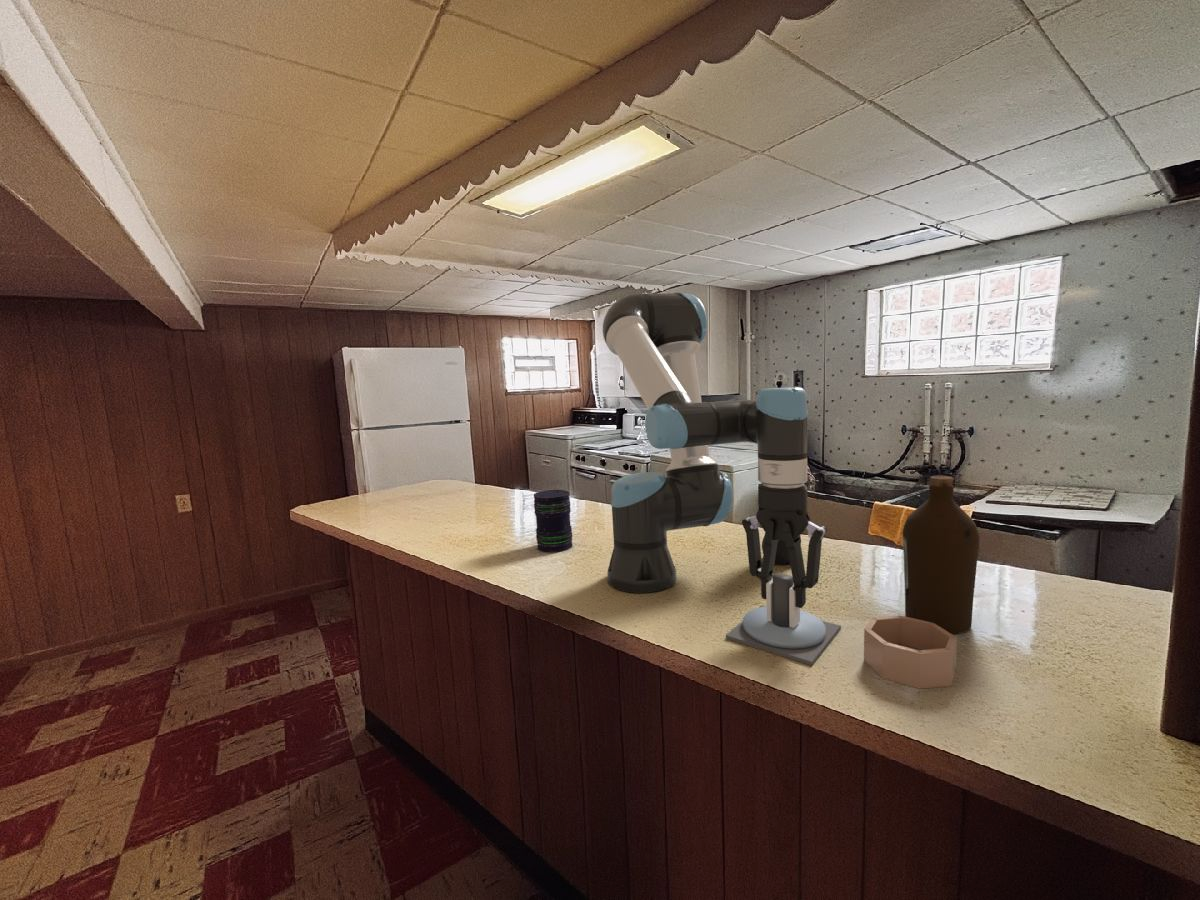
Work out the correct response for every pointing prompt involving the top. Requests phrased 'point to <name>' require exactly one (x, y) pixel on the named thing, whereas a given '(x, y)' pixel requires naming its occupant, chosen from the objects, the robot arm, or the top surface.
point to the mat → (801, 654)
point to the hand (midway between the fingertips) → (783, 620)
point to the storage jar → (553, 521)
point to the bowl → (910, 651)
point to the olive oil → (940, 560)
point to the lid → (783, 621)
